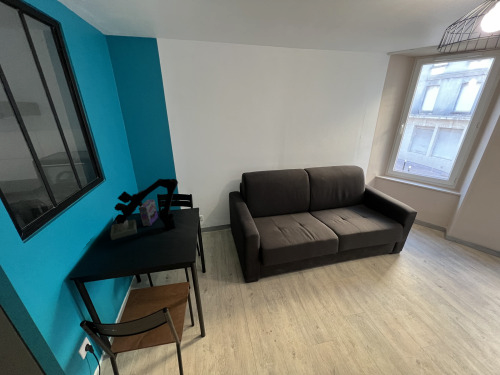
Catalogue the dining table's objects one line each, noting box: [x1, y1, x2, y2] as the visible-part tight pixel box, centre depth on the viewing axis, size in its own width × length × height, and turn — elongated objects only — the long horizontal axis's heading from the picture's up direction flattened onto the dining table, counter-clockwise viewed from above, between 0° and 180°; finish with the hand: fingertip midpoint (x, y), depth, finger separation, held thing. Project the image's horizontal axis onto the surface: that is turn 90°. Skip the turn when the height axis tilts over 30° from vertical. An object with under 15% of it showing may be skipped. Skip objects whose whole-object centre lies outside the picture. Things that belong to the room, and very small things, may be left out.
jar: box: [115, 219, 129, 231], centre depth 138 cm, size 6×6×8 cm
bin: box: [110, 219, 138, 241], centre depth 139 cm, size 15×15×4 cm
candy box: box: [137, 199, 159, 227], centre depth 149 cm, size 14×6×16 cm, turn 179°
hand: (119, 221), depth 137 cm, fingers closed on jar, 6 cm apart
